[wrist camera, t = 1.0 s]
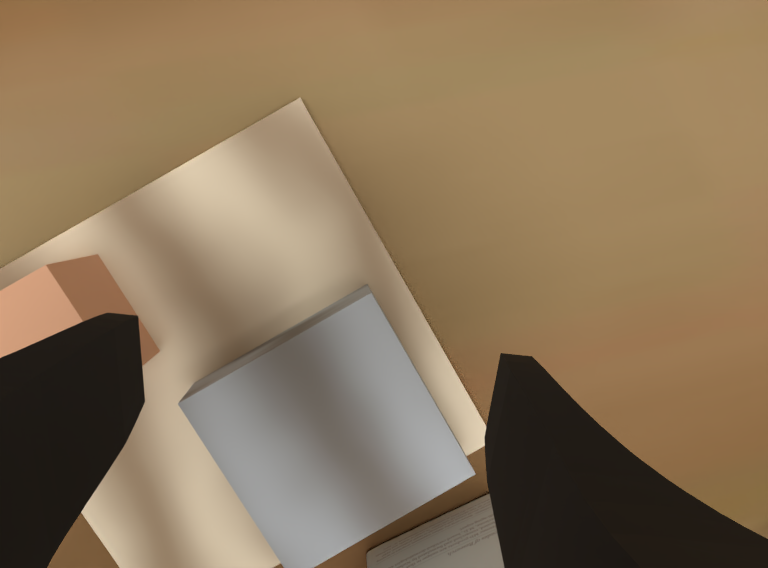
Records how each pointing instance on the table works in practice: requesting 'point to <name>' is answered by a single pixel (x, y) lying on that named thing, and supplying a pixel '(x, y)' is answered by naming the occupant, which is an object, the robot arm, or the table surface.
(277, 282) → the base board
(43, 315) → the block
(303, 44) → the table surface
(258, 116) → the table surface
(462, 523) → the supplement box
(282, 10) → the table surface
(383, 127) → the table surface
